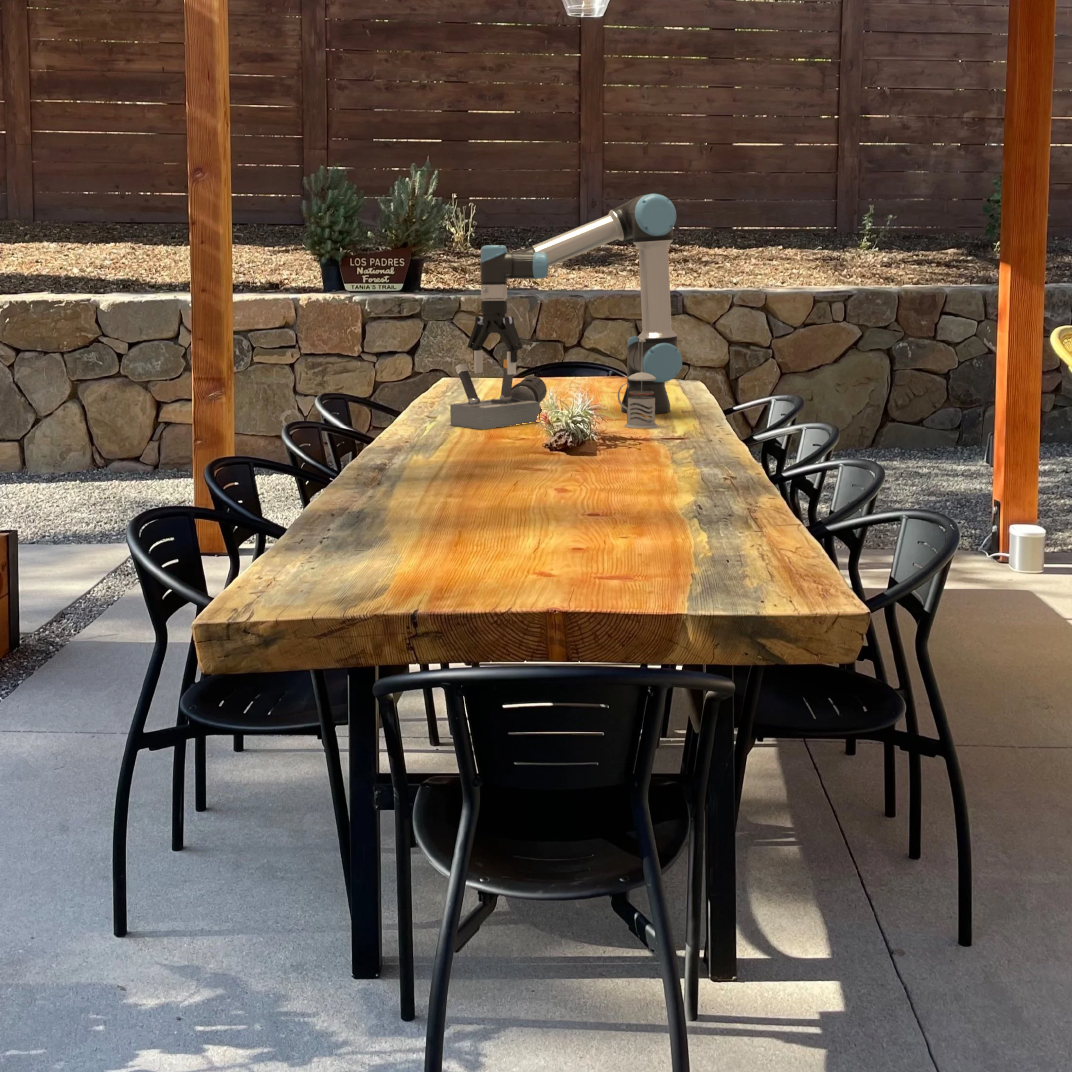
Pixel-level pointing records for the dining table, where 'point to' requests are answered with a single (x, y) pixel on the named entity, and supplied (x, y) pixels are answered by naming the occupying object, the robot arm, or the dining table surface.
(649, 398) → the french press
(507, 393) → the lever
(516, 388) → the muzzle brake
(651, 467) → the dining table surface
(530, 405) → the twin lever control box
